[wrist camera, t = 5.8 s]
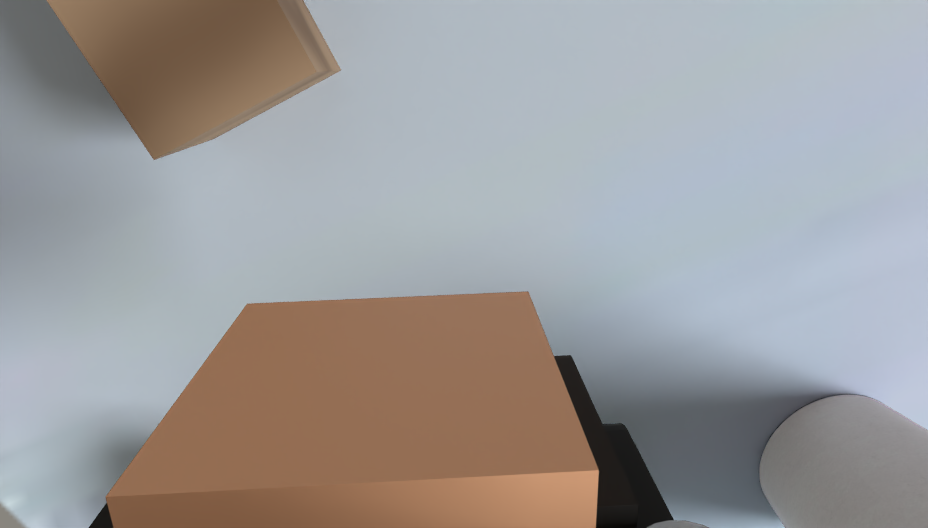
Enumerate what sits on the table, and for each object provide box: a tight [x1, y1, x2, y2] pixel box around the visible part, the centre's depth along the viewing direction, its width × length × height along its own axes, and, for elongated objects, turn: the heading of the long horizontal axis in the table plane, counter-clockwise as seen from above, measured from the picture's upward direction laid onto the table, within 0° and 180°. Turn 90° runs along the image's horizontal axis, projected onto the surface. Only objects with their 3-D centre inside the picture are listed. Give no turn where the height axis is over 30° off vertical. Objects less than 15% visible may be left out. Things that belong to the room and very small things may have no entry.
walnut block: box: [47, 0, 341, 160], centre depth 18 cm, size 5×5×5 cm
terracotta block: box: [106, 292, 599, 528], centre depth 9 cm, size 5×5×5 cm
